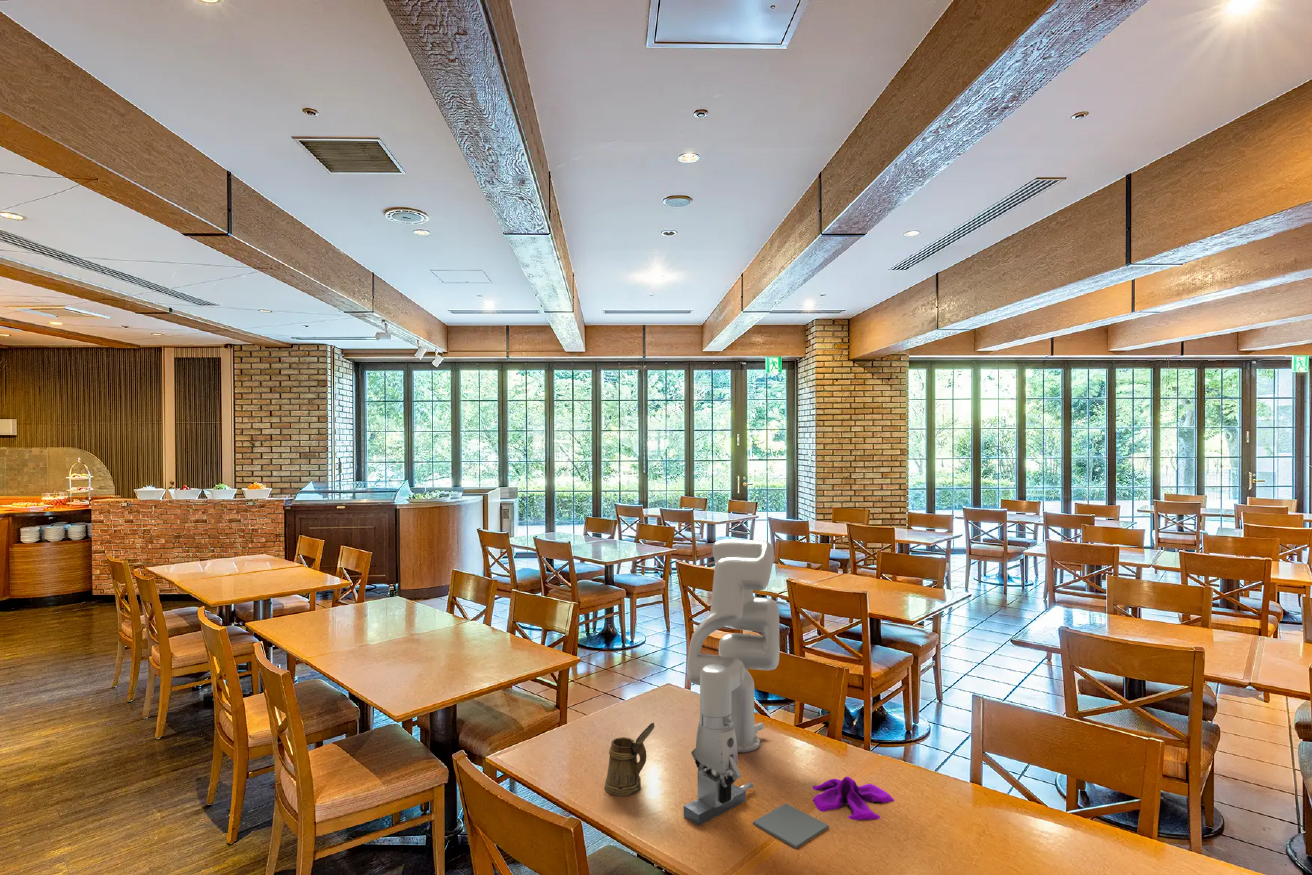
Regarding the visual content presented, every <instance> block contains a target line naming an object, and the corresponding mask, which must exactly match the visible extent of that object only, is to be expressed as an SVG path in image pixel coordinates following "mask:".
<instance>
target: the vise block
mask: <svg viewBox="0 0 1312 875" xmlns="http://www.w3.org/2000/svg"><path fill="white" fill-rule="evenodd" d="M711 776H712V777H713V778H715V779H716V778H718V777H720V774H719V773H718V772H716V771H714V770H712V769H711ZM753 787H754V783H753V782H752V781H749V782H748V783H745V784H743V785H742V786H738V785H735V784H733V799H732V800H730V801H728V802H726V803H724V804H722V805H721V806H719V807H717V808H715V807H713V806H711V805H710V804H708V803H706V802H705V801H703V800H701V799H699V798H698V797H697V798H696V799H695V800H692V801H690V802H688V803H686V804H684V805H683V818H686V819H687V820H688V821H690V822H691V823H693V824H695V825H696V826H698V827H699V826H701V825H704V824H705V823H708V822H709V821H711V820H713V819H714V818H717V817H719V816H720V815H723V814H725V813H726V812H729V811H730V810H732V809H734V808H736V807H737V806H740V805H741V804H742V805H743V803H745V802H747V801H746V800H747V799H746V796H747V795H746V794H747V793H746V792H747V791H748V790H749V789H751V788H753Z"/></svg>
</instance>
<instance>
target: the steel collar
mask: <svg viewBox="0 0 1312 875" xmlns="http://www.w3.org/2000/svg"><path fill="white" fill-rule="evenodd" d="M725 777H726V779H728V777H727V774H725ZM733 785H734V783H733V784H731V800H732V799H733ZM720 786H722V782H721V778H720V777H718V778H716V779H715V778H713V777H712V776H711V769H710V768H709V767H708V768H705V769H703V770H701V771H699V772H698V771H697V799H698V798H699V799H701V800H703V801H705V802H706V803H708V804H710V805H711V806H713V807H715V808H717V807H719V806H721V805H722V803H720Z"/></svg>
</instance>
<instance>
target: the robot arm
mask: <svg viewBox="0 0 1312 875" xmlns="http://www.w3.org/2000/svg"><path fill="white" fill-rule="evenodd" d="M774 552H775V551H774V548H773V546H772V544H771V543H770V542H768V541H765V540H757V539H756V540H753V539H738V538H737V539H732V538H728V539H727V538H726V539H719V540H717V541H715V542H714V543H713V545H712V556H713V559H714V561H715V566H714V571H713V580H712V589H711V590H712V591H711V603H710V611H709V614H708V615H707V616H706V617H705V618H704V619H702V621H701V622H700V623H699V624H698V626H697V627H696V628H695V630H694V632H693V634H692V635H691V639H690V641H689V649H688V655H687V664H686V673H687V679H688V681H689V683H691V684H693V685H695V686H699V721H698V724H697V725H698V726H697V731H696V738H695V740H696V741H695V748H694V749H692V751H691V754H690V755H691V756H692V757H693V759H694V762H695V764H696V767H697V773H698V772H699V771H701V770H703V769H705V768H708V767H709V768H710V769H712V770H714V771H716V772H718V773H719V774H720V778H721V782H722V786H720V803H722V804H724V803H726V802H728V801H730V800H731V784H733V785H734V783H735V782H736V781H737V780H739V779H740V778H741V777H742V773H741V771H740V769H739V767H738V765H739V763H738V760H739V759H738V753H748V752H753V751H754V750H755V751H756V749H758V748H759V746H760V742H761V741H760V739H759V738H760V737H758V736H757V733H758V732H759V731H761V730H764V728H765V725H764V723H763V722H759V723H756V724H755V682H754V681H755V680H754V679H753V677H752V675H751V673H750V672H749V671H748V670H757V671H758V670H759V671H773V670H775V669H776V668H777V667H778V665H779V662H780V613H779V612H780V610H779V606H778V604H777V602H776V600H774V599H772V598H769V597H758V596H754V591H764V590H765V589H767V587H768V586H769V583H770V579H771V574H772V569H773V564H774V560H775V559H774V558H775V553H774ZM725 627H728V628H730V629H734V630H741V631H752V632H753V631H754V632H761V634H762V635H760V634H751V633H742V632H741V633H739V632H732V633H731V632H730V633H727V634H726V633H725V634H724V635H722V637H720V638H719V642H718V654H705V653H701V652H702V647H703V644H704V642H705V640H706V639H707V637H708V636H710V635H711V634H712V633H714V632H716V631H717V630H720V629H723V628H725ZM725 774H727V777H728V779H726V777H725Z"/></svg>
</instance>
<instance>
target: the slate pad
mask: <svg viewBox="0 0 1312 875" xmlns="http://www.w3.org/2000/svg"><path fill="white" fill-rule="evenodd" d="M752 825H754V826H755V827H757V828H759V829H760V830H763V831H764V832H765V833H767V834H769V835H771V836H772V837H775V838H776V839H778V840H779V841H781V842H783V843H785V844H787V845H788V846H790V847H792V848H793V849H796V850H797V849H799V847H802V846H803V845H805V844H806V843H807V842H810V840H812V839H814V838H815V837H818V835H820V834H822V833H823V832H824V831H826V830H828V829H829V828H830V827H829V826H830V825H829V824H827V823H825V822H823V821H822V820H819V819H818V818H816V817H814V816H811V815H810V814H808V813H806V812H804V811H802V810H800V809H798V808H796V807H794V806H792V805H790V804H788V803H783V804H782V805H780V806H778V807H776V808H774V809H773V810H772V811H770V812H768V813H765V814H764V815H762V816H761V817H759V818H757V819H755V820H754V821H752Z"/></svg>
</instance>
